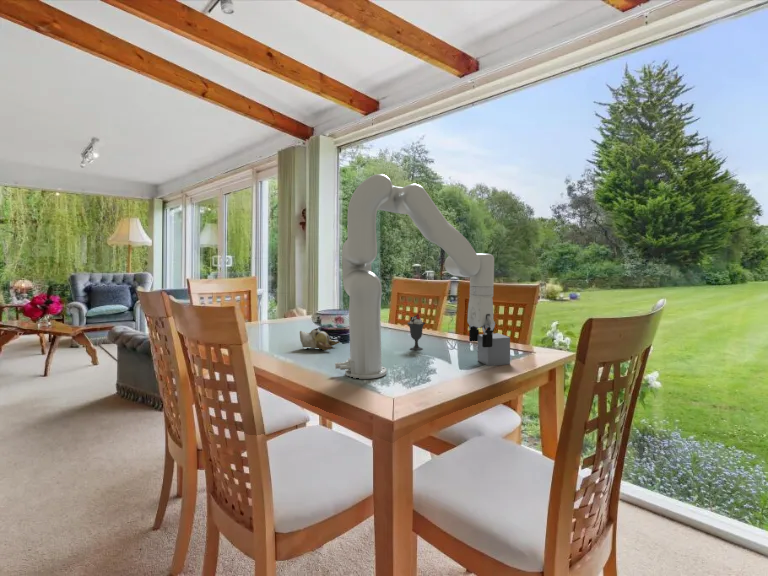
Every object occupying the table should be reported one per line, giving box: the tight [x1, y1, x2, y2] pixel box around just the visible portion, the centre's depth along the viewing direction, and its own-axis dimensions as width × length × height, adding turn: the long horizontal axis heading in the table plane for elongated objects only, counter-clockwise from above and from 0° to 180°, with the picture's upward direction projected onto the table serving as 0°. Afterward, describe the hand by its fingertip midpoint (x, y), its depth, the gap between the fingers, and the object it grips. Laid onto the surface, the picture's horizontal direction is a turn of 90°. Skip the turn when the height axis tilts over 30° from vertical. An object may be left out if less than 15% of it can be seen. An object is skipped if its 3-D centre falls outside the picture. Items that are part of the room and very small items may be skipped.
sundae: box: [407, 310, 426, 351], centre depth 165 cm, size 7×7×15 cm
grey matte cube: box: [477, 332, 511, 367], centre depth 143 cm, size 8×8×9 cm
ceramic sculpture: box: [299, 327, 340, 351], centre depth 169 cm, size 11×9×15 cm
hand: (480, 344), depth 142 cm, fingers open, 9 cm apart
